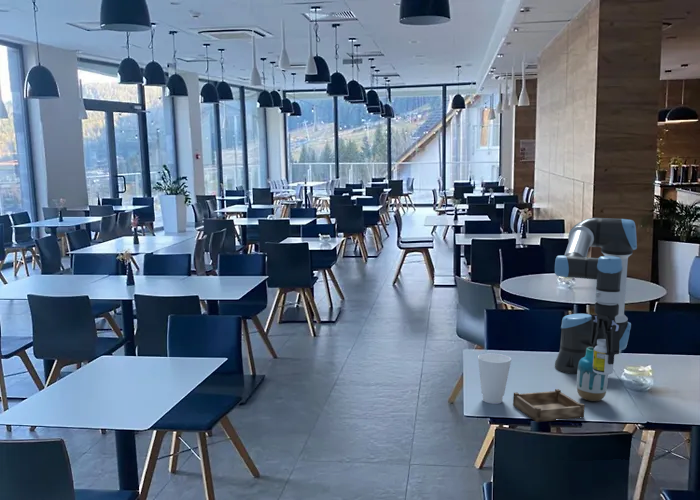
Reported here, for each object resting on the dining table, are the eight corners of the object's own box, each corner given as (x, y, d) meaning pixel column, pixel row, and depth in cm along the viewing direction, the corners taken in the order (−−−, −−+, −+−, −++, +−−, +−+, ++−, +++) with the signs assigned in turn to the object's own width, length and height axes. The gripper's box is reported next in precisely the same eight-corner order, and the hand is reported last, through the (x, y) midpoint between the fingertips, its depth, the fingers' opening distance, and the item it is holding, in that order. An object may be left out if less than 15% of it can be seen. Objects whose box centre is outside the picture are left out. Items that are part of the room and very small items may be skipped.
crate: (557, 401, 242) (558, 389, 241) (583, 417, 226) (584, 404, 226) (513, 405, 237) (513, 392, 236) (536, 422, 222) (537, 408, 221)
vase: (570, 394, 249) (574, 345, 246) (598, 394, 250) (601, 344, 247) (583, 405, 238) (586, 353, 236) (611, 404, 239) (615, 353, 237)
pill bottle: (596, 368, 229) (598, 337, 228) (614, 372, 226) (616, 340, 224) (590, 372, 224) (592, 340, 223) (608, 376, 221) (611, 344, 219)
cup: (502, 408, 233) (504, 364, 231) (470, 401, 240) (472, 358, 238) (513, 398, 243) (515, 356, 241) (482, 392, 250) (484, 351, 248)
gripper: (581, 297, 230) (577, 361, 233) (613, 309, 212) (608, 379, 215) (601, 296, 232) (596, 360, 235) (634, 308, 213) (629, 378, 216)
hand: (602, 369), depth 225 cm, fingers closed on pill bottle, 6 cm apart
